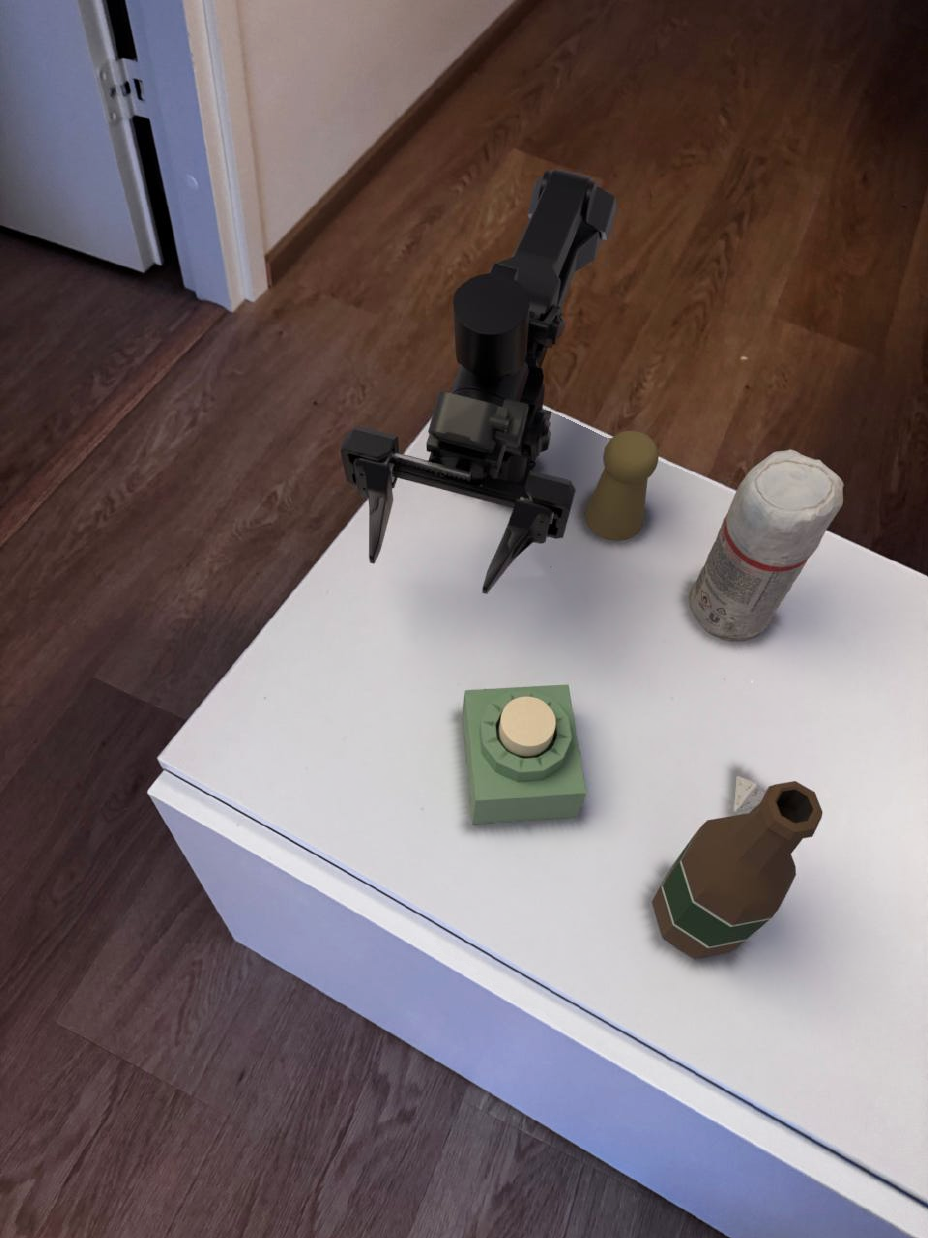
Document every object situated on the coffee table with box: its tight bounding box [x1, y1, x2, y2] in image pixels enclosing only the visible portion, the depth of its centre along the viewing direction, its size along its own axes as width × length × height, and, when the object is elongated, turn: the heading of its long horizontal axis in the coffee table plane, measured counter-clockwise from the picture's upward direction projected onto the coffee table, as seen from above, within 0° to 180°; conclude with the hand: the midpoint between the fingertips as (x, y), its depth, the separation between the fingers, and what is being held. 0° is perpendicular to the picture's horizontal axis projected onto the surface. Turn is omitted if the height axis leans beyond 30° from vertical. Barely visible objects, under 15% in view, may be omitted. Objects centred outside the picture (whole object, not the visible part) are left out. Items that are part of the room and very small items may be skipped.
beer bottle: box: [651, 780, 823, 960], centre depth 69 cm, size 8×8×24 cm
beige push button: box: [499, 697, 556, 757], centre depth 78 cm, size 4×4×2 cm
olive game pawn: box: [584, 430, 660, 541], centre depth 96 cm, size 6×6×11 cm
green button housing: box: [461, 684, 587, 825], centre depth 82 cm, size 10×9×8 cm
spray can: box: [688, 449, 845, 642], centre depth 86 cm, size 8×8×20 cm
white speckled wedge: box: [733, 775, 765, 813], centre depth 84 cm, size 4×3×3 cm
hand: (427, 576), depth 76 cm, fingers open, 9 cm apart
